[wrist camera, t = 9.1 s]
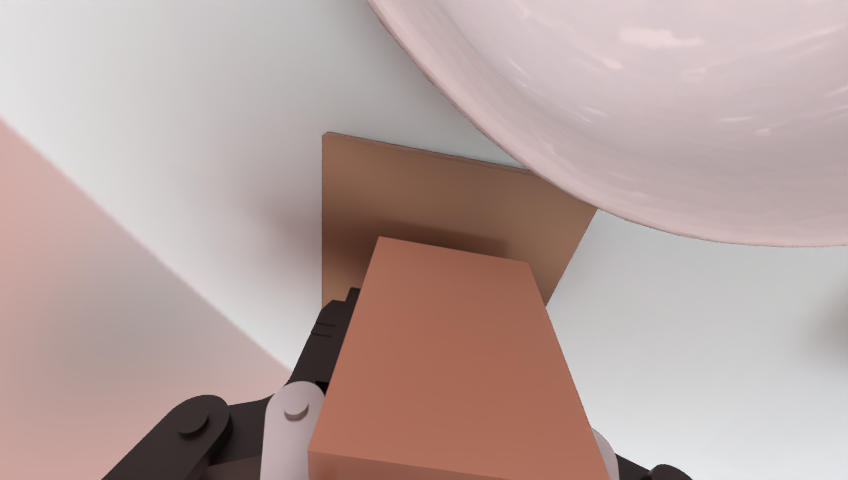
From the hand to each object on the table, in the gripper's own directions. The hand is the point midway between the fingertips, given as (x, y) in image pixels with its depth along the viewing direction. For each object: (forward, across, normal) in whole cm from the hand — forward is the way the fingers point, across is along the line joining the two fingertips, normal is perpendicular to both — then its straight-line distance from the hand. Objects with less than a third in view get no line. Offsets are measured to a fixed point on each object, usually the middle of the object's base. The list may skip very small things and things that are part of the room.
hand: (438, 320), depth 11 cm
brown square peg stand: (+3, 0, 0) cm, 3 cm away
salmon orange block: (+1, 0, 0) cm, 1 cm away
